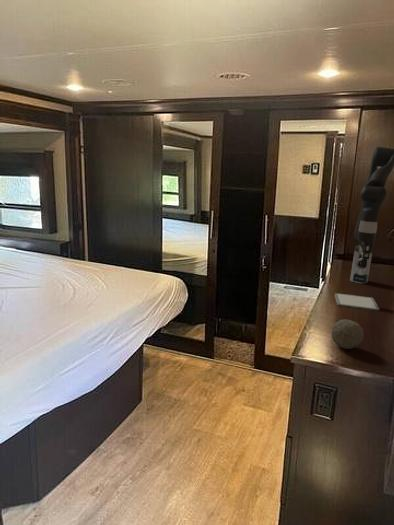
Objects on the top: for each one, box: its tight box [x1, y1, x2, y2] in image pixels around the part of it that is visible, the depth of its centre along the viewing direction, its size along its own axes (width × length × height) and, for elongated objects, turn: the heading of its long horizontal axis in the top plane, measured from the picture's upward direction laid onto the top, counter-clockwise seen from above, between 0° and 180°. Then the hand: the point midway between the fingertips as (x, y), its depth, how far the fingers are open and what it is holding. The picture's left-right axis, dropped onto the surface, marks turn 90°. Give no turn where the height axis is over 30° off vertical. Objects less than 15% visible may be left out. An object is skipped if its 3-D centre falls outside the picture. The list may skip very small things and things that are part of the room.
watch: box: [353, 258, 369, 284], centre depth 184 cm, size 6×8×11 cm
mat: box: [334, 292, 381, 312], centre depth 187 cm, size 18×18×1 cm
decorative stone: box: [331, 318, 365, 350], centre depth 136 cm, size 10×8×10 cm
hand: (361, 265), depth 183 cm, fingers closed on watch, 8 cm apart
